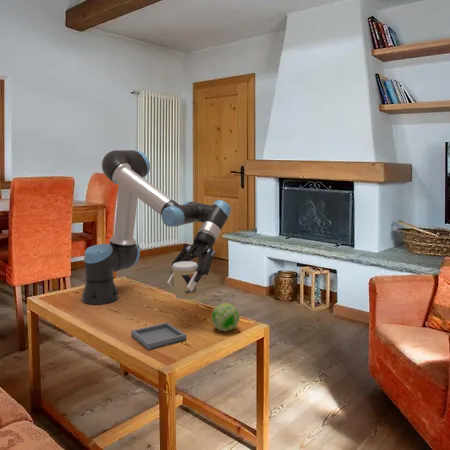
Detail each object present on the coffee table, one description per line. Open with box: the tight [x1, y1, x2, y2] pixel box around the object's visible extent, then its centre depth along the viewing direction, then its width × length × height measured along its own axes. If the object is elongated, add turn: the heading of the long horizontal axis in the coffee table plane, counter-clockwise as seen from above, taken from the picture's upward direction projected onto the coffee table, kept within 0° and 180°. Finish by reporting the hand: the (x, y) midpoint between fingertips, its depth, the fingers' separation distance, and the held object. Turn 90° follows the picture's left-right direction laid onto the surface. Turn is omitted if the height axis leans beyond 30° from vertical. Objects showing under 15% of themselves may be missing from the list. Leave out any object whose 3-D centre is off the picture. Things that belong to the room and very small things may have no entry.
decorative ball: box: [211, 302, 240, 332], centre depth 164 cm, size 10×10×10 cm
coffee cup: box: [171, 260, 198, 300], centre depth 167 cm, size 9×9×12 cm
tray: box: [130, 322, 187, 351], centre depth 157 cm, size 14×14×2 cm
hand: (179, 286), depth 164 cm, fingers closed on coffee cup, 9 cm apart
